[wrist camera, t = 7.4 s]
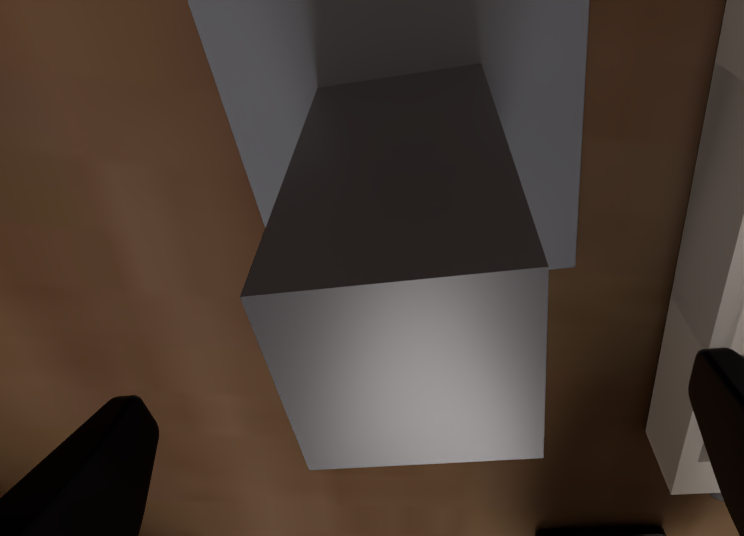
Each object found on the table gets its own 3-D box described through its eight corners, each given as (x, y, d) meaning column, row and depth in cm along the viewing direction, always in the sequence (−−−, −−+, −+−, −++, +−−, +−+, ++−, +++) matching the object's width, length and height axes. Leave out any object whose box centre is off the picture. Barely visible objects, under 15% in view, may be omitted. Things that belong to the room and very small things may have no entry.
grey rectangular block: (488, 207, 18) (543, 458, 10) (348, 223, 18) (309, 470, 11) (481, 63, 15) (548, 266, 8) (317, 87, 16) (239, 297, 8)
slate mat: (571, 258, 19) (575, 267, 19) (291, 287, 21) (288, 296, 20) (587, -79, 13) (593, -77, 13) (193, -4, 15) (187, 0, 14)
